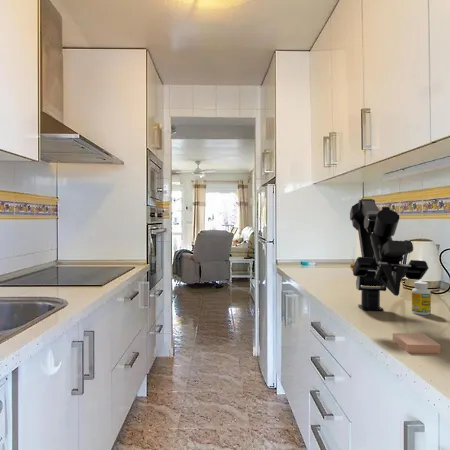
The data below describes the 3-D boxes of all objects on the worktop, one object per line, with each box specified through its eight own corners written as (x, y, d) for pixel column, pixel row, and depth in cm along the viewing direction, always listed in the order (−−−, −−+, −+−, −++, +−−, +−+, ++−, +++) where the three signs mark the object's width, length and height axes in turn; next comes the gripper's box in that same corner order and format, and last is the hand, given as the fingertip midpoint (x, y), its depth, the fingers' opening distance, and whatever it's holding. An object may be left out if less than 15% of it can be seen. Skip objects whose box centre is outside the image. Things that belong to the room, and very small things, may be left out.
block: (392, 333, 96) (407, 344, 87) (422, 333, 95) (440, 345, 86) (392, 341, 96) (407, 354, 87) (422, 342, 95) (440, 355, 86)
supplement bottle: (420, 310, 127) (420, 280, 127) (434, 314, 123) (434, 283, 122) (407, 312, 125) (407, 281, 125) (422, 315, 120) (422, 284, 120)
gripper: (358, 227, 107) (370, 274, 97) (428, 231, 107) (446, 279, 97) (348, 252, 116) (357, 299, 105) (412, 256, 115) (428, 303, 105)
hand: (396, 294), depth 103 cm, fingers closed
